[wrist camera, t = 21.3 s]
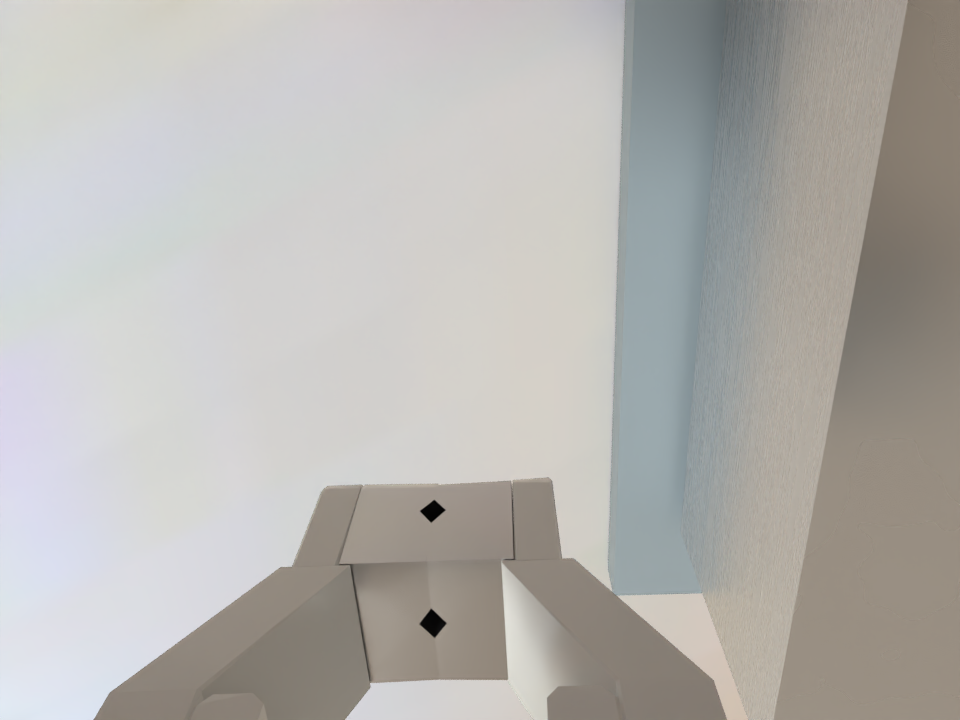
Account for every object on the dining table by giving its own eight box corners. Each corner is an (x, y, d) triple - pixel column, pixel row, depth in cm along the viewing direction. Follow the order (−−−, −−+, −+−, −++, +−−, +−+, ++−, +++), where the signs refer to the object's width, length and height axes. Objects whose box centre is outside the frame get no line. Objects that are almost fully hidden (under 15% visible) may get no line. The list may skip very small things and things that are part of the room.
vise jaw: (728, -20, 12) (917, -55, 7) (906, -32, 12) (1249, -77, 6) (680, 532, 17) (764, 765, 12) (804, 528, 17) (947, 763, 12)
